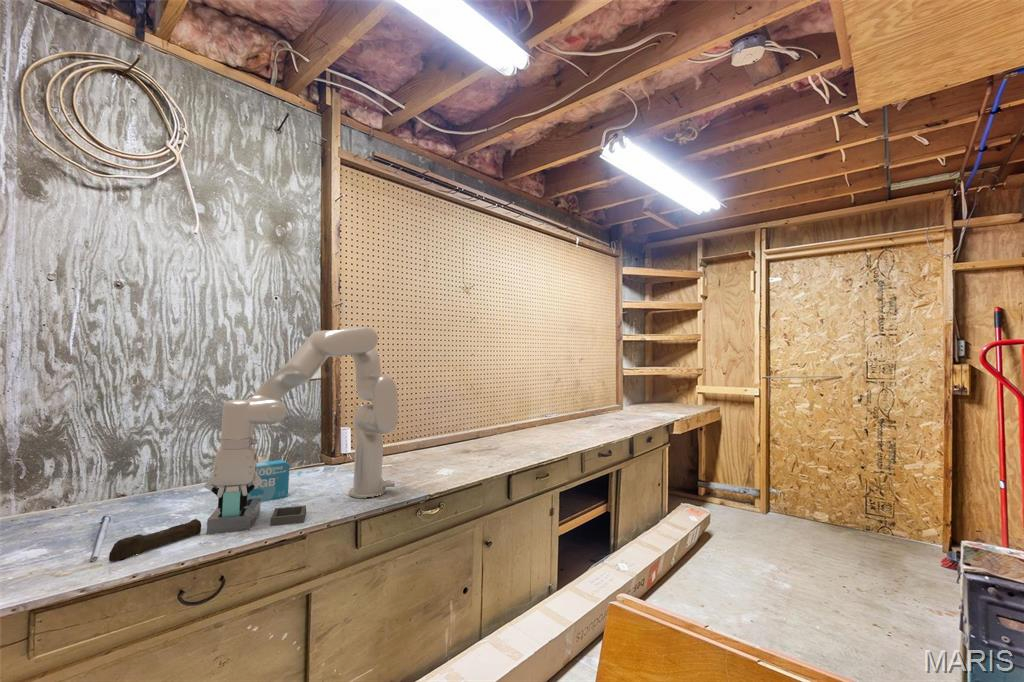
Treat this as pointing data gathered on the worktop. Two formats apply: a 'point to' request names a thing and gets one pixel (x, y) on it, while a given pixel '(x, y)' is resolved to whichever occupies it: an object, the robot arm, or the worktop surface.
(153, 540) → the hand tool
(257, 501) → the port
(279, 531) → the worktop surface
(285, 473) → the data package
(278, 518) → the dark square frame
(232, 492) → the plug
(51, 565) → the worktop surface
